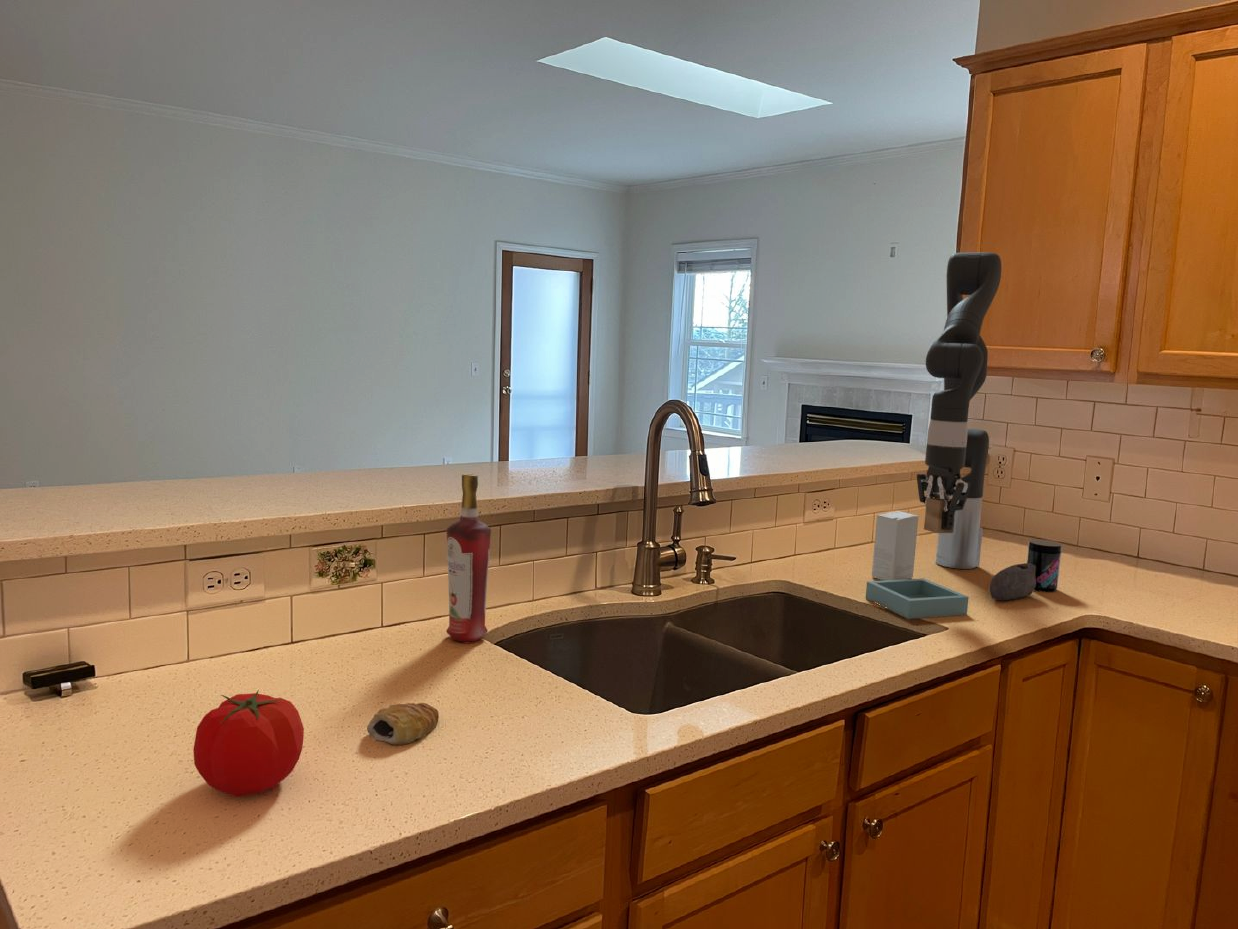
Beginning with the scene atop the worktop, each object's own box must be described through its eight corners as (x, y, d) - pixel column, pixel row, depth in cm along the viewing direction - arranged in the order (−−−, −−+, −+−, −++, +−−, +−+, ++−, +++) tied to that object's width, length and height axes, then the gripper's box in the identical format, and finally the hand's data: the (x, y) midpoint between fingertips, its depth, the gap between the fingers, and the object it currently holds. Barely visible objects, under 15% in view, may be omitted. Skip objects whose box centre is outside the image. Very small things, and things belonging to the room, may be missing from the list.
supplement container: (1028, 591, 200) (1033, 544, 198) (1020, 583, 206) (1024, 538, 205) (1061, 593, 199) (1066, 547, 197) (1051, 585, 205) (1056, 540, 204)
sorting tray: (921, 594, 193) (923, 578, 193) (966, 614, 180) (968, 596, 180) (865, 598, 188) (866, 581, 188) (907, 619, 175) (909, 600, 175)
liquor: (435, 637, 154) (438, 474, 150) (469, 628, 159) (472, 470, 155) (463, 648, 149) (466, 479, 145) (497, 638, 154) (501, 475, 151)
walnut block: (939, 528, 187) (942, 497, 186) (953, 532, 183) (956, 500, 182) (923, 529, 185) (926, 497, 185) (936, 533, 182) (940, 500, 181)
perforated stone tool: (1000, 606, 187) (1003, 573, 186) (977, 599, 192) (980, 567, 191) (1041, 597, 196) (1045, 565, 195) (1019, 591, 200) (1022, 560, 199)
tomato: (194, 769, 105) (191, 684, 104) (298, 754, 110) (298, 672, 109) (194, 820, 95) (192, 726, 93) (310, 801, 100) (309, 711, 98)
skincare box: (891, 573, 211) (897, 510, 209) (914, 579, 206) (920, 514, 204) (870, 577, 206) (875, 513, 203) (893, 584, 201) (898, 518, 199)
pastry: (414, 713, 124) (414, 686, 123) (452, 726, 120) (452, 698, 120) (362, 738, 116) (362, 709, 115) (401, 752, 112) (401, 723, 112)
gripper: (987, 447, 177) (978, 534, 179) (938, 440, 190) (930, 520, 192) (955, 447, 174) (947, 535, 176) (908, 439, 187) (901, 521, 190)
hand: (938, 527), depth 184 cm, fingers closed on walnut block, 4 cm apart
